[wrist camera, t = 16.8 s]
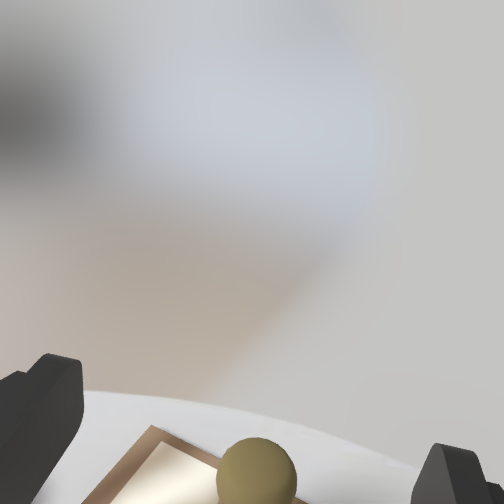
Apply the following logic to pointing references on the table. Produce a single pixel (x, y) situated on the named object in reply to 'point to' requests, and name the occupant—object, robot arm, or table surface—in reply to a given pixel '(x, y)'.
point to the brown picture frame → (161, 474)
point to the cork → (256, 474)
